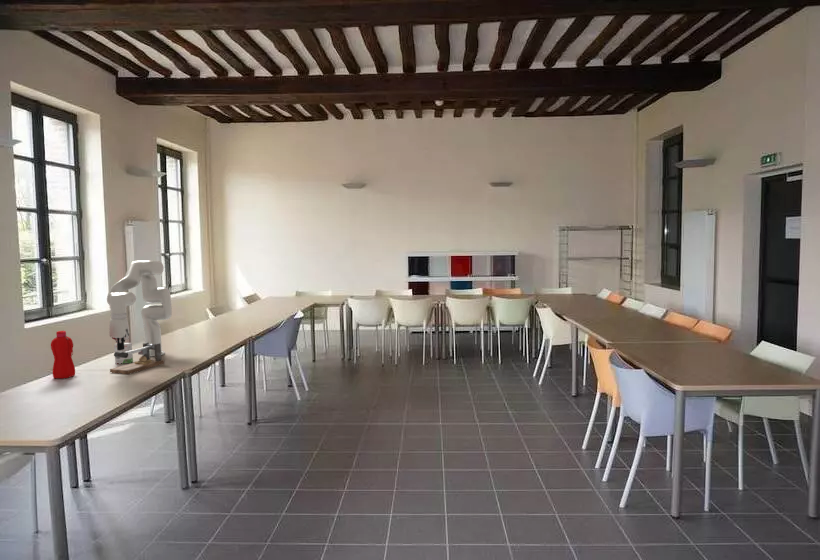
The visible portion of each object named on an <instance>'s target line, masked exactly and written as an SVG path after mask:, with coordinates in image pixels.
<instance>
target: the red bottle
mask: <svg viewBox="0 0 820 560" xmlns="http://www.w3.org/2000/svg"><path fill="white" fill-rule="evenodd" d="M50 349H51V352H52V355H53V359H54V360H53V365H52V377H53V378H54V379H60V380H61V379H63V380H64V378H65V379H68V378H71V377H74V376H75V375H76V369H75V364H74V361H73V357H72V356H73V355H74V342H73V338H71V337H70V336H67V332H66V330H58V331H56V337H55V338H53V339H52V340H51V342H50Z"/></svg>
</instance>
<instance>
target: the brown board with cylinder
mask: <svg viewBox="0 0 820 560" xmlns="http://www.w3.org/2000/svg"><path fill="white" fill-rule="evenodd" d="M146 344H149V343H145V342H143V343H142V347H145V346H146ZM161 345H162V344H161ZM161 345H160V343H157V344H154V346H155V356H154V358H153V359H151V358H150V357H151V356H150V353H149V350H147V354H144V355H142V356H145V357H146V358H147V361H145V362H140V361H139V360H136V361H133V362H132V363H129V364H122V365H120V366H117V367H116V366H115V367H113V368H110V369H109V373H110V372H112V373H111V374H119V373H122V375H131V374H134V372H135V373H137V371H138V372H140V371H141V372H142V371H144V370H148V369H151V368H153V367H158V366H161V365H164V364H165V360H164V359H162V355H161ZM130 373H131V374H130Z"/></svg>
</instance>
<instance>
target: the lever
mask: <svg viewBox="0 0 820 560" xmlns="http://www.w3.org/2000/svg"><path fill="white" fill-rule="evenodd" d="M149 349H150V350H155V346H154V344H146V346H145V347H143V346H142V347H139V348H135V349H132V350H130V351H126V352H115V351H114V353H113V356H114V358H115V357H120V358H127V357H128V355H130V354H137V353H138V355H142V356H143V355H144V354H147V350H149Z"/></svg>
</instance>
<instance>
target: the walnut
mask: <svg viewBox="0 0 820 560" xmlns="http://www.w3.org/2000/svg"><path fill="white" fill-rule="evenodd" d="M138 361H140V362H145V361H147V358H146V357H145V356H143V355H142V356H140V357H139V358H138Z"/></svg>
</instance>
